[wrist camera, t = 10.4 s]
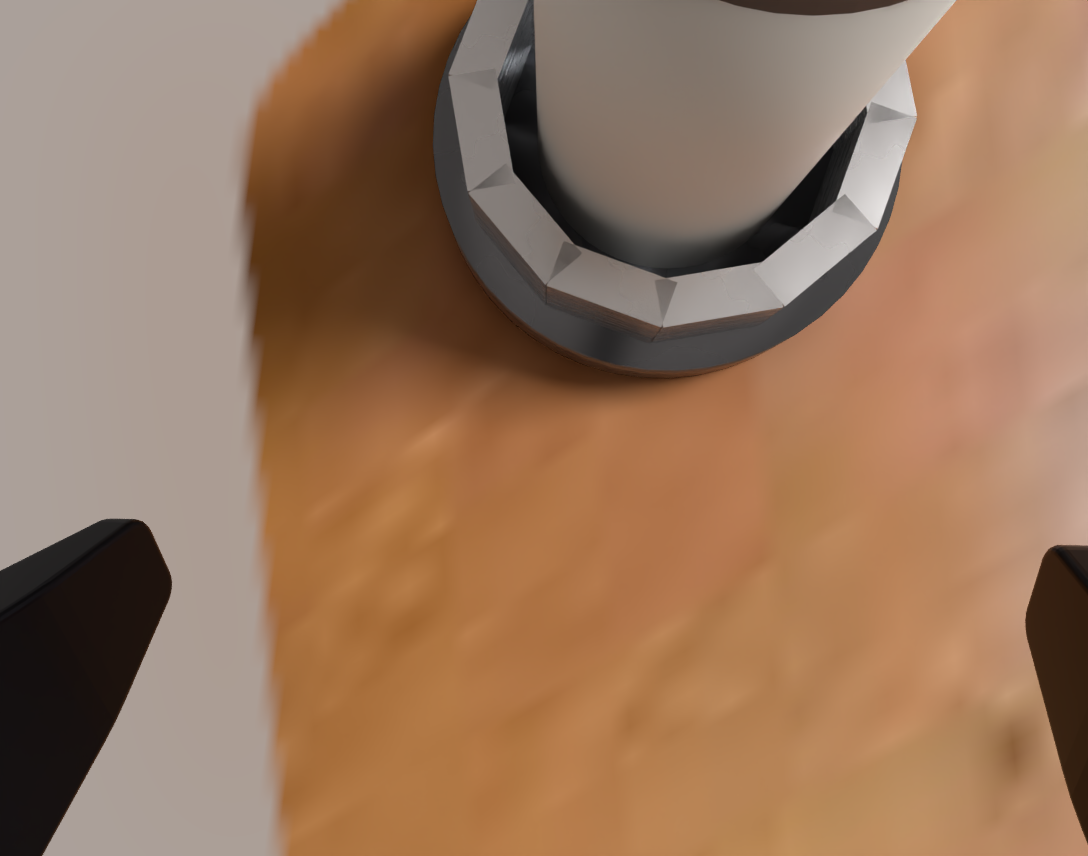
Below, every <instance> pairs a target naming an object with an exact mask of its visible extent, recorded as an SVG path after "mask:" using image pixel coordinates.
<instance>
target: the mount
mask: <svg viewBox="0 0 1088 856" xmlns="http://www.w3.org/2000/svg"><path fill="white" fill-rule="evenodd" d="M916 116H917V114H916V109H915V104H914V99H913V94H912V89H911V84H910V79H909V74H908V70H907V65H906V60H905V61H904V62H903V63H902V64H901V65H900V67H899V68H898V69H897V70H896V71H895V72H894V74H893V75H892V76H891V77H890V78H889V79H888V81H887V82H886V83H885V84H884V85H883V86H882V88H881V89H880V90H879V91H878V92H877V93H876V95H875V96H874V97H873V98H872V99H871V100H870V102H869V103H868V104H867V105H866V106H865V107H864V109H863V110H862V111H861V112H860V113H859V114H858V116H857V117H856V118H855V119H854V120H853V122H852V123H851V124H850V125H849V126H848V127H847V129H846V130H845V131H844V132H843V133H842V134H841V136H840V137H839V138H838V139H837V140H836V141H835V143H834V144H833V145H832V146H831V147H830V148H829V150H828V151H827V152H826V153H825V154H824V155H823V157H822V158H821V159H820V160H819V161H818V162H817V164H816V165H815V166H814V167H813V168H812V169H811V171H810V172H809V173H808V174H807V175H806V176H805V178H804V179H803V180H802V181H801V182H800V183H799V185H798V186H797V187H796V188H795V189H794V190H793V192H792V193H791V194H790V195H789V196H788V197H787V199H786V200H785V201H784V202H783V203H782V204H781V206H780V207H779V208H778V209H777V210H776V211H775V213H774V214H773V215H772V216H771V217H770V218H769V220H768V221H767V222H766V223H765V224H764V225H763V226H762V228H761V229H760V230H759V231H758V232H757V233H756V234H755V235H753V236H752V237H751V238H750V239H749V240H748V241H746V242H745V243H744V244H742V245H741V246H739V247H738V248H736V249H735V250H733V251H732V252H730V253H728V254H726V255H723V256H721V257H719V258H717V259H715V260H712V261H709V262H706V263H703V264H699V265H694V266H689V267H684V268H667V269H666V268H651V267H645V266H640V265H635V264H631V263H629V262H626V261H623V260H620V259H617V258H615V257H613V256H611V255H609V254H607V253H605V252H602V251H601V250H599V249H598V248H596V247H595V246H593V245H592V244H590V243H589V242H587V241H586V240H585V239H584V238H583V237H582V236H580V235H579V234H578V233H577V232H576V231H575V230H574V229H573V228H572V227H571V226H570V225H569V223H568V222H567V221H566V220H565V219H564V218H563V216H562V215H561V213H560V212H559V210H558V209H557V207H556V206H555V204H554V202H553V200H552V198H551V196H550V194H549V192H548V190H547V187H546V184H545V181H544V178H543V175H542V171H541V166H540V161H539V151H538V127H537V94H536V61H535V28H534V0H477V3H476V5H475V8H474V10H473V13H472V15H471V16H470V18H469V19H468V21H467V23H466V24H465V26H464V27H463V29H462V30H461V32H460V34H459V36H458V38H457V41H456V43H455V45H454V47H453V49H452V51H451V53H450V55H449V58H448V60H447V64H446V67H445V70H444V73H443V76H442V79H441V83H440V86H439V91H438V97H437V102H436V108H435V114H434V133H433V151H434V161H435V172H436V178H437V183H438V187H439V191H440V195H441V200H442V204H443V207H444V210H445V212H446V215H447V218H448V220H449V223H450V225H451V228H452V231H453V233H454V236H455V239H456V241H457V244H458V246H459V249H460V252H461V253H462V255H463V257H464V259H465V261H466V263H467V265H468V266H469V268H470V270H471V272H472V274H473V276H474V277H475V279H476V280H477V281H478V283H479V284H480V285H481V287H482V288H483V290H484V291H485V292H486V294H487V295H488V296H489V298H490V299H491V300H492V301H493V302H494V303H495V304H496V306H497V307H498V308H499V309H500V310H501V311H502V312H503V313H504V314H505V315H506V316H507V317H508V318H509V319H510V320H511V321H512V322H513V323H515V324H516V325H517V326H518V327H520V328H521V329H522V330H523V331H525V332H526V333H527V334H528V335H530V336H531V337H532V338H533V339H535V340H537V341H538V342H540V343H542V344H543V345H545V346H547V347H548V348H550V349H551V350H553V351H555V352H556V353H558V354H561V355H563V356H565V357H567V358H570V359H572V360H574V361H576V362H579V363H581V364H583V365H586V366H590V367H593V368H596V369H600V370H603V371H607V372H610V373H615V374H621V375H628V376H634V377H642V378H676V377H686V376H696V375H701V374H705V373H709V372H714V371H718V370H722V369H726V368H729V367H731V366H734V365H736V364H739V363H742V362H744V361H747V360H750V359H752V358H754V357H756V356H758V355H760V354H762V353H763V352H765V351H767V350H769V349H771V348H773V347H775V346H776V345H778V344H780V343H782V342H783V341H785V340H787V339H789V338H790V337H792V336H794V335H795V334H797V333H798V332H800V331H801V330H803V329H804V328H805V327H807V326H808V325H809V324H811V323H812V322H814V321H815V320H816V319H818V318H819V317H820V316H822V315H823V314H824V313H825V312H826V311H827V310H828V309H829V308H830V307H831V306H832V305H833V304H834V303H835V302H836V301H837V300H839V299H840V298H841V297H842V296H843V295H844V294H845V292H846V291H847V290H848V289H849V287H850V286H851V285H852V284H853V282H854V281H855V280H856V279H857V277H858V276H859V275H860V274H861V272H862V271H863V270H864V268H865V266H866V265H867V263H868V261H869V260H870V258H871V256H872V255H873V253H874V251H875V250H876V248H877V246H878V244H879V242H880V240H881V237H882V235H883V233H884V230H885V228H886V226H887V223H888V221H889V219H890V216H891V213H892V209H893V205H894V202H895V198H896V195H897V191H898V187H899V180H900V172H901V165H902V159H903V156H904V153H905V150H906V148H907V145H908V142H909V139H910V136H911V133H912V130H913V128H914V125H915V122H916V119H917V118H915V117H916Z"/></svg>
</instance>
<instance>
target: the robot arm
mask: <svg viewBox="0 0 1088 856" xmlns="http://www.w3.org/2000/svg"><path fill="white" fill-rule="evenodd" d="M171 589H172V580H171V575H170V572H169V570H168V567H167V565H166V563H165V561H164V558H163V557H162V554H161V552H160V550H159V547H158V545H157V543H156V541H155V539H154V536H153V534H152V532H151V530H150V529H149V527H148V526H147V525H146V524H145V523H144V522H143V521H139V520H136V519H105V520H101V521H99V522H97V523H95V524H93V525H91V526H89V527H87V528H85V529H83V530H81V531H79V532H77V533H75V534H73V535H71V536H69V537H67V538H65V539H63V540H61V541H59V542H57V543H55V544H53V545H51V546H49V547H47V548H45V549H43V550H41V551H39V552H37V553H35V554H33V555H31V556H29V557H27V558H25V559H23V560H21V561H19V562H17V563H15V564H13V565H11V566H9V567H7V568H5V569H3V570H1V571H0V856H42V855H43V853H44V852H45V850H46V848H47V846H48V844H49V842H50V841H51V839H52V837H53V835H54V833H55V832H56V830H57V828H58V826H59V824H60V822H61V821H62V819H63V817H64V815H65V813H66V812H67V810H68V808H69V806H70V804H71V802H72V801H73V799H74V797H75V795H76V794H77V792H78V790H79V788H80V786H81V784H82V783H83V781H84V779H85V777H86V775H87V774H88V772H89V770H90V768H91V766H92V764H93V763H94V761H95V759H96V757H97V755H98V754H99V752H100V750H101V748H102V746H103V745H104V743H105V741H106V739H107V737H108V735H109V733H110V731H111V729H112V727H113V725H114V723H115V721H116V719H117V717H118V715H119V713H120V711H121V708H122V706H123V704H124V702H125V700H126V697H127V695H128V693H129V690H130V688H131V686H132V684H133V681H134V679H135V677H136V674H137V672H138V670H139V667H140V665H141V662H142V660H143V658H144V656H145V654H146V651H147V649H148V647H149V644H150V642H151V640H152V637H153V635H154V633H155V630H156V628H157V626H158V624H159V621H160V619H161V617H162V614H163V612H164V610H165V607H166V605H167V603H168V600H169V598H170V594H171ZM1025 623H1026V635H1027V640H1028V643H1029V647H1030V651H1031V655H1032V658H1033V662H1034V666H1035V670H1036V673H1037V677H1038V681H1039V685H1040V688H1041V692H1042V696H1043V700H1044V703H1045V707H1046V711H1047V715H1048V718H1049V722H1050V726H1051V730H1052V733H1053V737H1054V741H1055V745H1056V748H1057V752H1058V756H1059V760H1060V763H1061V767H1062V771H1063V774H1064V778H1065V781H1066V784H1067V788H1068V791H1069V795H1070V798H1071V801H1072V803H1073V806H1074V809H1075V812H1076V814H1077V817H1078V820H1079V823H1080V825H1081V828H1082V831H1083V833H1084V836H1085V838H1086V841H1087V843H1088V546H1080V545H1056V546H1054V547H1051V548H1050V549H1048V551H1047V552H1046V553H1045V555H1044V557H1043V559H1042V563H1041V566H1040V569H1039V572H1038V575H1037V579H1036V582H1035V585H1034V588H1033V592H1032V595H1031V598H1030V601H1029V604H1028V608H1027V612H1026V620H1025Z"/></svg>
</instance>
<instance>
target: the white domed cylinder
mask: <svg viewBox="0 0 1088 856" xmlns="http://www.w3.org/2000/svg"><path fill="white" fill-rule="evenodd" d="M955 1H956V0H534V28H535V61H536V94H537V127H538V151H539V161H540V166H541V171H542V175H543V178H544V181H545V184H546V187H547V190H548V192H549V194H550V196H551V198H552V200H553V202H554V204H555V206H556V207H557V209H558V210H559V212H560V213H561V215H562V216H563V218H564V219H565V220H566V221H567V222H568V223H569V225H570V226H571V227H572V228H573V229H574V230H575V231H576V232H577V233H578V234H579V235H580V236H582V237H583V238H584V239H585V240H586V241H587V242H589V243H590V244H592V245H593V246H595V247H596V248H598V249H599V250H601V251H602V252H605V253H607V254H609V255H611V256H613V257H615V258H617V259H620V260H623V261H626V262H629V263H631V264H635V265H640V266H645V267H651V268H666V269H667V268H684V267H689V266H694V265H699V264H703V263H706V262H709V261H712V260H715V259H717V258H719V257H721V256H723V255H726V254H728V253H730V252H732V251H733V250H735V249H736V248H738V247H739V246H741V245H742V244H744V243H745V242H746V241H748V240H749V239H750V238H751V237H752V236H753V235H755V234H756V233H757V232H758V231H759V230H760V229H761V228H762V226H763V225H764V224H765V223H766V222H767V221H768V220H769V218H770V217H771V216H772V215H773V214H774V213H775V211H776V210H777V209H778V208H779V207H780V206H781V204H782V203H783V202H784V201H785V200H786V199H787V197H788V196H789V195H790V194H791V193H792V192H793V190H794V189H795V188H796V187H797V186H798V185H799V183H800V182H801V181H802V180H803V179H804V178H805V176H806V175H807V174H808V173H809V172H810V171H811V169H812V168H813V167H814V166H815V165H816V164H817V162H818V161H819V160H820V159H821V158H822V157H823V155H824V154H825V153H826V152H827V151H828V150H829V148H830V147H831V146H832V145H833V144H834V143H835V141H836V140H837V139H838V138H839V137H840V136H841V134H842V133H843V132H844V131H845V130H846V129H847V127H848V126H849V125H850V124H851V123H852V122H853V120H854V119H855V118H856V117H857V116H858V114H859V113H860V112H861V111H862V110H863V109H864V107H865V106H866V105H867V104H868V103H869V102H870V100H871V99H872V98H873V97H874V96H875V95H876V93H877V92H878V91H879V90H880V89H881V88H882V86H883V85H884V84H885V83H886V82H887V81H888V79H889V78H890V77H891V76H892V75H893V74H894V72H895V71H896V70H897V69H898V68H899V67H900V65H901V64H902V63H903V62H904V61H905V60H906V58H907V57H908V56H909V55H910V54H911V53H912V51H913V50H914V49H915V48H916V47H917V46H918V44H919V43H920V42H921V41H922V40H923V39H924V37H925V36H926V35H927V34H928V33H929V32H930V30H931V29H932V28H933V27H934V26H935V25H936V23H937V22H938V21H939V20H940V19H941V18H942V16H943V15H944V14H945V13H946V12H947V11H948V9H949V8H950V7H951V6H952V5H953V4H954V2H955Z"/></svg>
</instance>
